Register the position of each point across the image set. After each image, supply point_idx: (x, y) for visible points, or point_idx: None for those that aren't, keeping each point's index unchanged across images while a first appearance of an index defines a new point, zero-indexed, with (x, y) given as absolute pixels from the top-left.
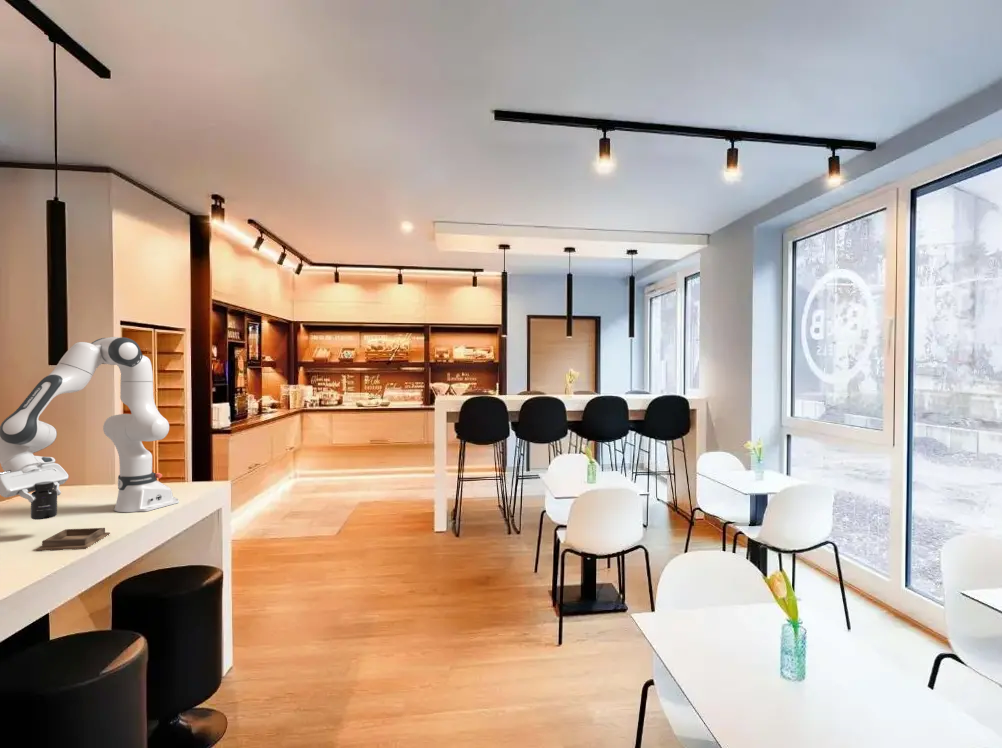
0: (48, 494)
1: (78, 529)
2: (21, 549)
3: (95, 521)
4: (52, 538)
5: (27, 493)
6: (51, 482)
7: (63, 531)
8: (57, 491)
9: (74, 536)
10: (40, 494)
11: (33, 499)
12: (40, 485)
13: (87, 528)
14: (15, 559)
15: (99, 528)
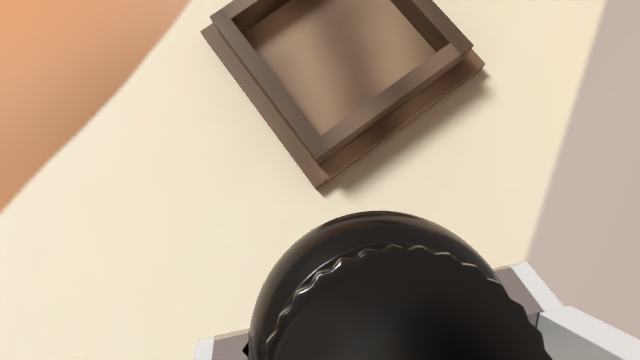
0: (391, 212)
1: (285, 97)
2: (507, 151)
3: (90, 331)
4: (419, 66)
5: (614, 339)
6: (315, 308)
7: (341, 124)
8: (228, 351)
9: (309, 104)
10: (468, 247)
11: (518, 263)
12: (506, 294)
13: (255, 75)
14: (571, 30)
15: (229, 26)
